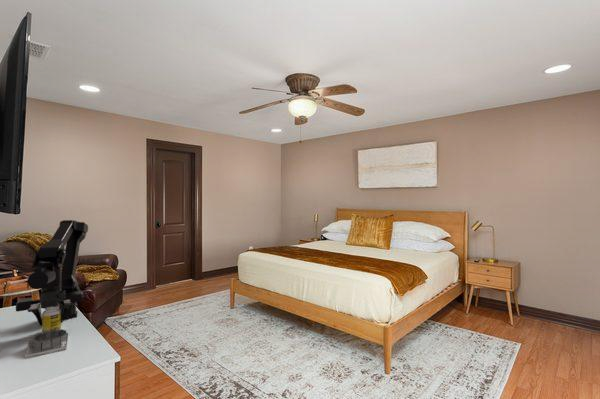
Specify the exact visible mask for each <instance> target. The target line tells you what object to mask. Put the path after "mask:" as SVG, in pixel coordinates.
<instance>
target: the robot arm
mask: <svg viewBox="0 0 600 399" xmlns="http://www.w3.org/2000/svg"><path fill="white" fill-rule="evenodd" d="M88 231H89V226H88V224H87V223H85V222H84V221H78V220H74V219H72V220H71V219H67V220H66V219H63V220H60V222H59V225H58V228H57V229H56V231H55V232H54V234H53V235H52V237H51V238H50V240H48V241H46V242H44V243H42V245H41V246H40V247H39V248H38V249H37V251H36V253H35V256H34V260H33V262H32V265H31V268H32V269H34V272H32V273H30V274H29V276H28V278H27V280H26V281H27V285H28V286H29V287H30V288H31V289H33V290H41V292H40V295H39V299H34V298H33V296H32V297H26V298H25V297H24V298H19V299H18V301H17V302H16V304H15V312H24V311H27V312H28V313H32V314H33V315H34V316H35V318H36V319H37V322H38V325H39V327H42V313H43V312H42V309H45V308H47V307H56V306H58V305H59V307H58V308H59V309H61V324H63V322H64V320H65V319H71V318H77V317H78V310H77V303H82V302H83V301H84V291H83V290H81V289H80V287H79V282H78V281H77V279H76V271H77V264H78V257H79V251H80V246H81V245H80V244H81V243H82V242H83V240H85V239H86V236H87V233H88Z"/></svg>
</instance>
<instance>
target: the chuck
mask: <svg viewBox="0 0 600 399" xmlns="http://www.w3.org/2000/svg"><path fill="white" fill-rule="evenodd" d="M68 340H69V332H67V330H65V329H62V328H61V329H58V330H49V331H44V332H42V331H41V332H38V333H35V334H34V335H32V336H30V337H29V338H28V348H27V350H26V352H25V356H24V357H25V359H28V358H33V357H36V356H42V355H46V353H47V354H51V353H54V351H56V352H59V351H58V350H60V351H64V350H63V349H65V350H67V347H68ZM50 352H51V353H50Z"/></svg>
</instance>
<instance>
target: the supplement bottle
mask: <svg viewBox="0 0 600 399" xmlns="http://www.w3.org/2000/svg"><path fill="white" fill-rule="evenodd" d="M41 313H42V326H41V332H44V331H49V330H58V329H62V323H61V309H59V305H58V306H56V307H47V308H44V310H43V311H42V312H41Z"/></svg>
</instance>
